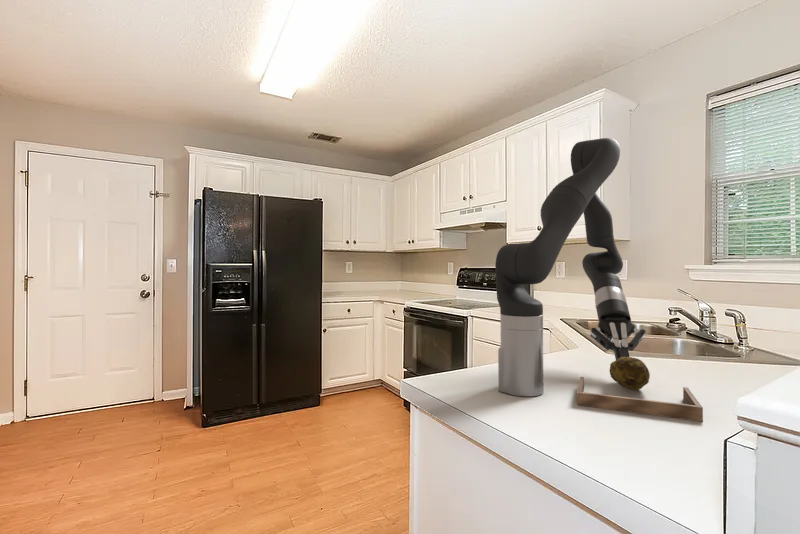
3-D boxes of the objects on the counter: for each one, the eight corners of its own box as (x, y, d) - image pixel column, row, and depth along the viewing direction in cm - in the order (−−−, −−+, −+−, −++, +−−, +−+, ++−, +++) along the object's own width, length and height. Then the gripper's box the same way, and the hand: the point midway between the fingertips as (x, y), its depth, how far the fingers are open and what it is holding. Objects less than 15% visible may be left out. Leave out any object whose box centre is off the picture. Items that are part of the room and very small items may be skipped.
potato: (650, 385, 95) (650, 351, 95) (649, 400, 84) (649, 362, 84) (610, 380, 99) (610, 348, 99) (604, 394, 89) (604, 357, 89)
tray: (577, 405, 82) (577, 392, 82) (580, 387, 94) (580, 376, 94) (702, 421, 72) (702, 407, 72) (688, 399, 85) (687, 387, 85)
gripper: (586, 297, 108) (595, 353, 96) (642, 298, 104) (658, 356, 92) (583, 315, 113) (591, 370, 101) (636, 316, 109) (651, 373, 98)
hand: (623, 363), depth 97 cm, fingers closed
